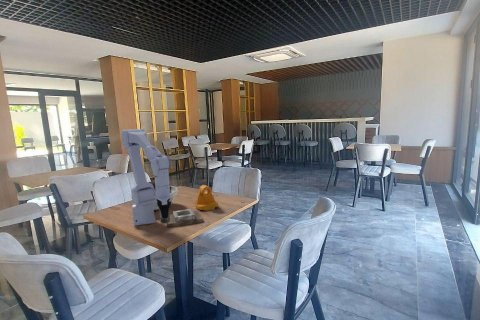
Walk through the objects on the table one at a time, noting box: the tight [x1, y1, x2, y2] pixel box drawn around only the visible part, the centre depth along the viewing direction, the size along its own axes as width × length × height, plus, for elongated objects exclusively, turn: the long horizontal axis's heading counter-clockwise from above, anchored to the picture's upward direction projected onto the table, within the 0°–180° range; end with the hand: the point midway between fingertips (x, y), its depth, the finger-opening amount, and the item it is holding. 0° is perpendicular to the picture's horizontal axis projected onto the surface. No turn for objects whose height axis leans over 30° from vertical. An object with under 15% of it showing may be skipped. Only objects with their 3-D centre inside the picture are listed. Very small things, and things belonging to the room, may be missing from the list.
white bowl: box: [129, 180, 179, 211], centre depth 143 cm, size 25×25×15 cm
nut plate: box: [166, 208, 204, 228], centre depth 123 cm, size 16×12×4 cm
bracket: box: [194, 184, 219, 211], centre depth 139 cm, size 11×7×12 cm, turn 119°
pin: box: [158, 209, 171, 224], centre depth 110 cm, size 4×4×7 cm
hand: (164, 216), depth 110 cm, fingers closed on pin, 4 cm apart
